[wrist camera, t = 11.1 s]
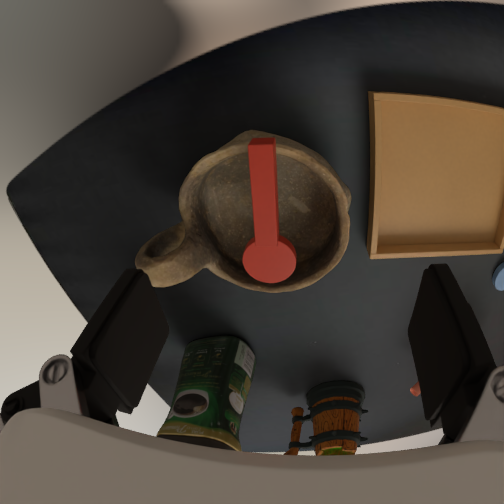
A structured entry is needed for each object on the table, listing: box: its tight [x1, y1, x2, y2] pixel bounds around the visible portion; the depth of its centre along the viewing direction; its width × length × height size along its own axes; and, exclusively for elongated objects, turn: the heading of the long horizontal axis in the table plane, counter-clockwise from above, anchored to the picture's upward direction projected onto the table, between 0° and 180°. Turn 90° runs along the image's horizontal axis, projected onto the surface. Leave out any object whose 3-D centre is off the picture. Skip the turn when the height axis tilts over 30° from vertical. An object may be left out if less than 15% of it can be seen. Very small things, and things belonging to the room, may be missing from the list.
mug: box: [284, 381, 368, 456], centre depth 40 cm, size 13×10×12 cm
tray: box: [367, 91, 504, 259], centre depth 23 cm, size 15×16×2 cm
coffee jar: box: [157, 336, 256, 451], centre depth 34 cm, size 10×8×19 cm
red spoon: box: [242, 138, 296, 283], centre depth 21 cm, size 11×4×2 cm, turn 4°
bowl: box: [135, 130, 351, 293], centre depth 24 cm, size 14×18×10 cm
